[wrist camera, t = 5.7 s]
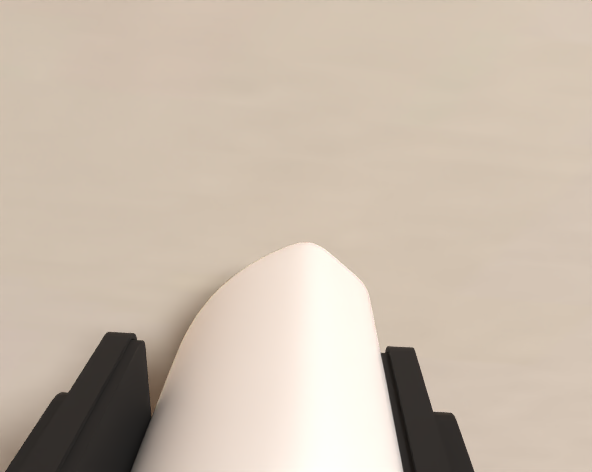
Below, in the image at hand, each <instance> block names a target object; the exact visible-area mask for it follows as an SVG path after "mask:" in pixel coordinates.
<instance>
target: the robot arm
mask: <svg viewBox="0 0 592 472" xmlns="http://www.w3.org/2000/svg"><path fill="white" fill-rule="evenodd" d="M381 358H382V363H383V368H384V373H385V378H386V383H387V388H388V394H389V399H390V404H391V409H392V415H393V420H394V425H395V430H396V436H397V441H398V446H399V451H400V457H401V462H402V467H403V472H474V470H473V467H472V464H471V461H470V458H469V455H468V452H467V449H466V447H465V444H464V441H463V438H462V435H461V432H460V429H459V426H458V424H457V421H456V419H455V416H454V415H453V414H452V413H445V412H433V410H432V407H431V403H430V400H429V397H428V393H427V390H426V386H425V383H424V380H423V376H422V373H421V370H420V366H419V363H418V360H417V356H416V353H415V350H414V348H410V347H390V346H388V347H387V348H386V352H385V353H381ZM150 420H151V408H150V396H149V384H148V372H147V361H146V349H145V343H144V341H141V340H137V337H136V335H135V334H134V333H118V332H108V333H106V334H105V336H104V337H103V339H102V340H101V342H100V344H99V345H98V347H97V348H96V350H95V352H94V353H93V355H92V356H91V358H90V359H89V361H88V363H87V364H86V366H85V367H84V369H83V371H82V372H81V374H80V375H79V377H78V378H77V380H76V382H75V383H74V385H73V386H72V388H71V390H70V391H69V393H64V392H61V393H59V394H57V395H56V396H55V398H54V399H53V400H52V401H51V403H50V405H49V406H48V408H47V409H46V411H45V412H44V414H43V415H42V417H41V418H40V420H39V421H38V423H37V424H36V426H35V427H34V429H33V430H32V432H31V433H30V435H29V436H28V438H27V439H26V441H25V442H24V444H23V445H22V447H21V449H20V450H19V452H18V453H17V455H16V456H15V458H14V459H13V461H12V462H11V464H10V465H9V467H8V468H7V470H6V471H5V472H131V469H132V467H133V464H134V462H135V459H136V456H137V454H138V451H139V449H140V446H141V443H142V441H143V438H144V436H145V433H146V431H147V428H148V425H149V423H150Z"/></svg>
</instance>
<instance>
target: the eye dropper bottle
mask: <svg viewBox="0 0 592 472" xmlns="http://www.w3.org/2000/svg"><path fill="white" fill-rule="evenodd" d="M131 472H403V467H402V462H401V457H400V451H399V446H398V441H397V436H396V430H395V425H394V420H393V415H392V409H391V404H390V399H389V394H388V388H387V383H386V378H385V373H384V368H383V363H382V358H381V352H380V347H379V342H378V337H377V332H376V327H375V322H374V317H373V312H372V307H371V302H370V297H369V293H368V290H367V289H366V287H365V285H364V284H363V282H362V281H361V280H360V279H359V278H358V277H357V276H356V275H354V274H353V273H352V272H351V271H350V270H349V269H348V268H347V267H345V266H344V265H343V264H342V263H341V262H340V261H338V260H337V259H336V258H335V257H334V256H333V255H331V254H330V253H329V252H328V251H326V250H325V249H324V248H322V247H320V246H318V245H316V244H314V243H311V242H303V243H295V244H292V245H289V246H286V247H284V248H281V249H279V250H277V251H274V252H272V253H270V254H268V255H266V256H264V257H262V258H261V259H259V260H257V261H255V262H253V263H252V264H250V265H249V266H247V267H246V268H244V269H242V270H241V271H240V272H238V273H237V274H236V275H234V276H233V277H232V278H231V279H229V280H228V281H227V282H226V283H225V284H223V285H222V286H221V287H220V288H219V289H218V290H217V291H216V292H215V293H214V294H213V295H212V297H211V298H210V299H209V300H208V301H207V302H206V304H205V305H204V306H203V307H202V309H201V310H200V311H199V313H198V314H197V316H196V317H195V319H194V320H193V322H192V324H191V325H190V327H189V328H188V330H187V332H186V334H185V336H184V338H183V340H182V342H181V344H180V347H179V349H178V351H177V354H176V356H175V359H174V361H173V364H172V366H171V369H170V372H169V374H168V377H167V379H166V382H165V384H164V387H163V390H162V392H161V395H160V397H159V400H158V402H157V405H156V407H155V410H154V413H153V415H152V418H151V420H150V423H149V425H148V428H147V431H146V433H145V436H144V438H143V441H142V443H141V446H140V449H139V451H138V454H137V456H136V459H135V462H134V464H133V467H132V469H131Z"/></svg>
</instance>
